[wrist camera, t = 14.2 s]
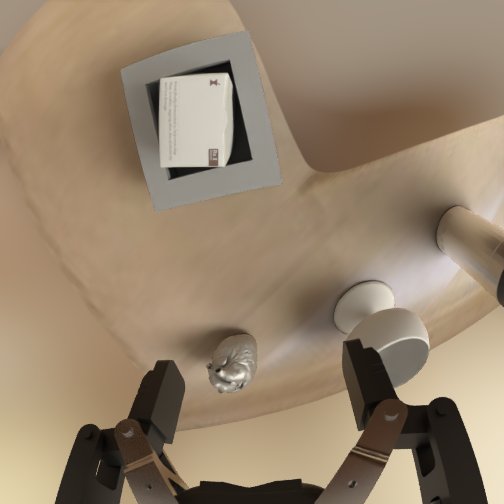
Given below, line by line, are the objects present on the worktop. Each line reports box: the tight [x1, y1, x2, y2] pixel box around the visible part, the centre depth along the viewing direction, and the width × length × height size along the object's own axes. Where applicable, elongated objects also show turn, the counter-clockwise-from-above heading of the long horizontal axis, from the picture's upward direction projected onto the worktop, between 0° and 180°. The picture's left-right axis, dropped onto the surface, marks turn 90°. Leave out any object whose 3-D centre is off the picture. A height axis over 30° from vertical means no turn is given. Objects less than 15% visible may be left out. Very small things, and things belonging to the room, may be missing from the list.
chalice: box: [334, 281, 429, 388], centre depth 40 cm, size 14×14×15 cm
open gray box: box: [120, 31, 283, 212], centre depth 29 cm, size 14×17×10 cm
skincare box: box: [159, 73, 236, 168], centre depth 26 cm, size 8×6×15 cm
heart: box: [206, 334, 257, 393], centre depth 45 cm, size 10×10×12 cm
